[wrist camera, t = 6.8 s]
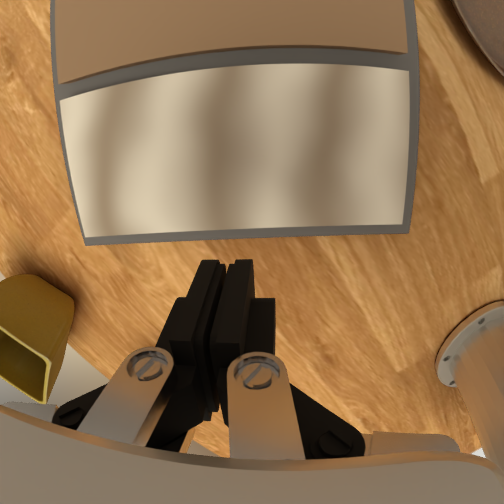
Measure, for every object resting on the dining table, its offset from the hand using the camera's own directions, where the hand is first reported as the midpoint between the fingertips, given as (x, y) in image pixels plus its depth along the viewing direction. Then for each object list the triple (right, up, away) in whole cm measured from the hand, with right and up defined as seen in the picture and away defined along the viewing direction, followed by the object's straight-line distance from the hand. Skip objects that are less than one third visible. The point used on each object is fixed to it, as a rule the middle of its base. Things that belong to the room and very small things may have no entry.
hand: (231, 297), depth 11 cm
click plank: (-1, +8, +9) cm, 12 cm away
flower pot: (-20, -3, +17) cm, 26 cm away
